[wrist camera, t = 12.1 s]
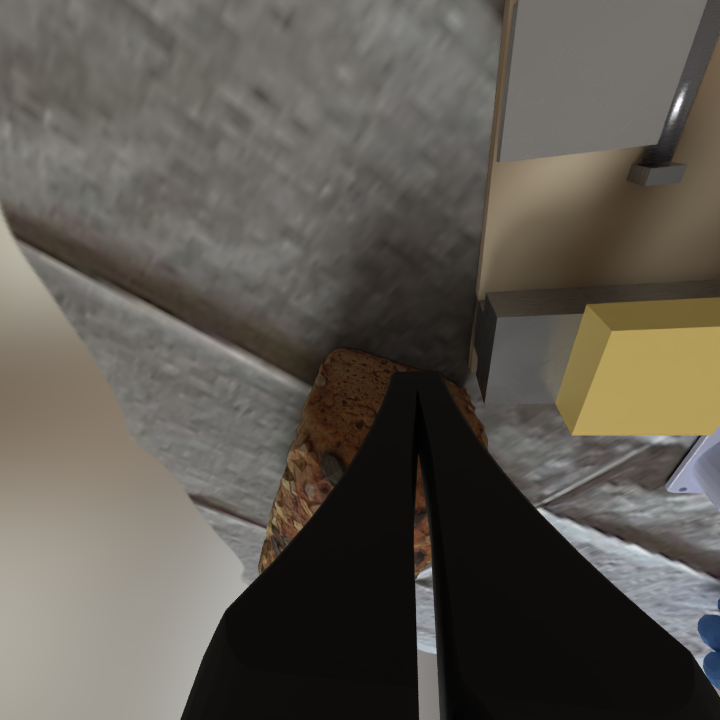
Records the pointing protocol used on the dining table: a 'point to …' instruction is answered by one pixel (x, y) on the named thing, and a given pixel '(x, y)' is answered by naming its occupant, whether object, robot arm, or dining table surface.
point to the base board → (601, 210)
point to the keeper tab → (603, 75)
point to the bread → (343, 445)
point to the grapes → (711, 646)
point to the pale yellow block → (644, 369)
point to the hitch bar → (557, 320)
